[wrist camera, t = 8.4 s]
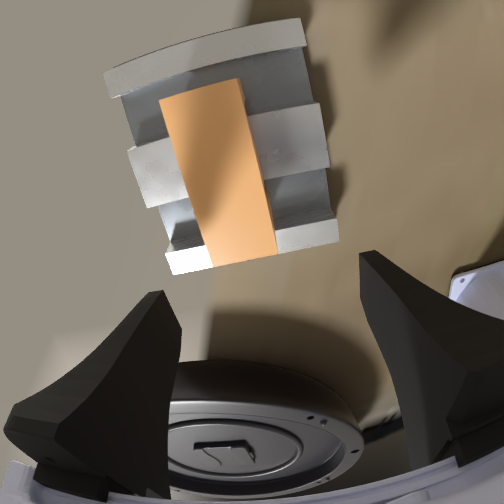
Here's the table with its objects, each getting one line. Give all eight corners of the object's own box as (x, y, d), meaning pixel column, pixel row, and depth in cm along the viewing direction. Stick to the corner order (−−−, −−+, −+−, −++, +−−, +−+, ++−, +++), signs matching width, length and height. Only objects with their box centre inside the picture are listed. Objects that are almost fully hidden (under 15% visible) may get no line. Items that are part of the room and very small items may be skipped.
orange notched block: (239, 78, 15) (236, 78, 10) (270, 207, 19) (278, 253, 14) (184, 93, 15) (158, 100, 11) (221, 218, 19) (212, 267, 15)
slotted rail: (291, 20, 14) (298, 12, 12) (330, 226, 21) (339, 245, 18) (119, 67, 15) (101, 67, 13) (182, 256, 22) (175, 278, 19)
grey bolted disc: (169, 469, 43) (353, 451, 40) (165, 500, 38) (359, 484, 35) (55, 359, 28) (352, 315, 25) (36, 402, 23) (371, 372, 20)
